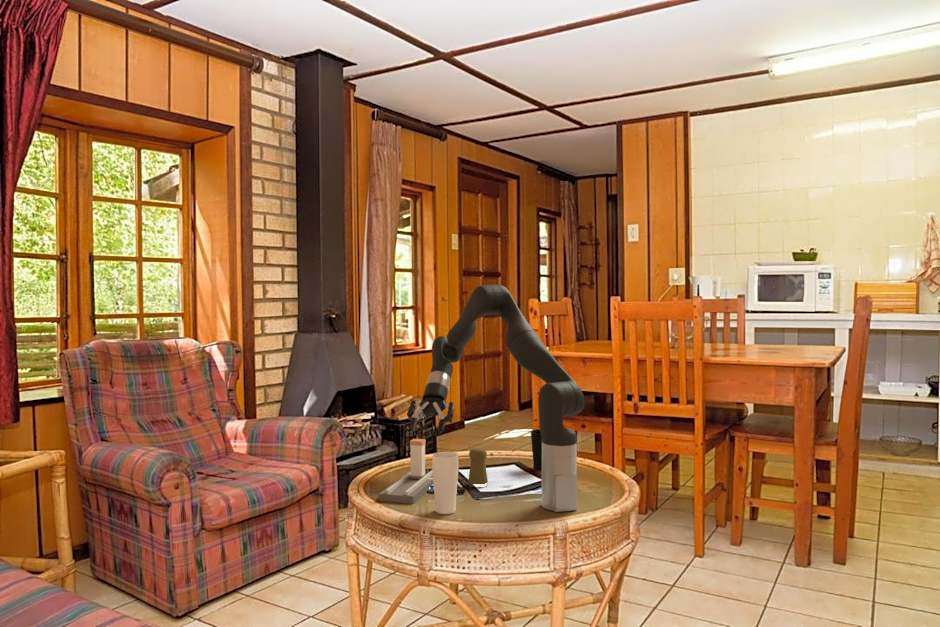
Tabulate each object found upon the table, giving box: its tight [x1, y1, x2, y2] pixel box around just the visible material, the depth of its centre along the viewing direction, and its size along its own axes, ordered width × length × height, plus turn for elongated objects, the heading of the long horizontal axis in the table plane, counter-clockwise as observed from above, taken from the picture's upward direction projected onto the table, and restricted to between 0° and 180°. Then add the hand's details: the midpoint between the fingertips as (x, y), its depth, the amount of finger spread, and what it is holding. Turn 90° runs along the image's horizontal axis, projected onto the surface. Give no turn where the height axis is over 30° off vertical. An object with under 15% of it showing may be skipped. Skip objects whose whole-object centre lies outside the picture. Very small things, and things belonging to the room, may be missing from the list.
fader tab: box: [409, 438, 427, 479], centre depth 209 cm, size 4×4×11 cm
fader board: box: [378, 470, 433, 505], centre depth 204 cm, size 24×10×3 cm, turn 165°
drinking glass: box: [431, 451, 459, 515], centre depth 184 cm, size 7×7×15 cm
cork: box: [467, 447, 489, 484], centre depth 209 cm, size 6×6×11 cm
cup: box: [530, 428, 542, 472], centre depth 228 cm, size 8×8×12 cm
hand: (425, 431), depth 216 cm, fingers open, 8 cm apart
